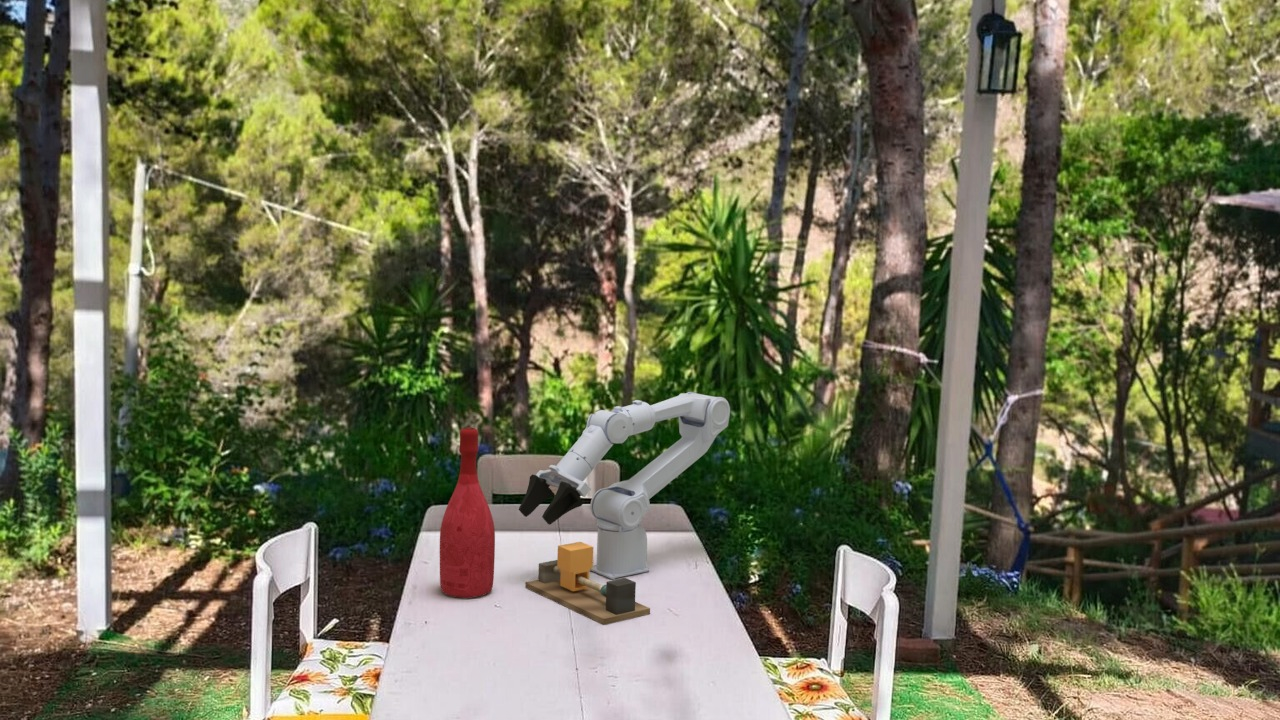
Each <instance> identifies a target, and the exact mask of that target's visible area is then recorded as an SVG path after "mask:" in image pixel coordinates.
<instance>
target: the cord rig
mask: <svg viewBox="0 0 1280 720" xmlns="http://www.w3.org/2000/svg"><path fill="white" fill-rule="evenodd" d="M557 561H558V559H554V560H550V561H543V562H539V563H538V578H537V579H536V580H535V579H534V580H531V581H530V580H529V581H525V588H526V589H527V590H530V591H531V592H534V593H535V594H538V595H540V596H542V597H545V598H547V600H550V601H553V602H554V603H557V604H559V605H561V606H563V607H566V608H568V610H572V611H574V612H576V613H578V614H580V615H582V616H584V617H586V618H588V619H591V620H592V621H595V622H597V623H599V624H601V625H603V626H605V625H608V624H610V625H611V624H613V623H618V622H621V621H626V620H627V621H628V620H630V619H634V618H640V617H642V616H647V615H650V614H651V607H648V606H646V605H643V604H642V603H639V602H637V601H636V587H637V585H636V584H637V583H636V581H633V580H631V579H629V578H626V577H621V578H616V579H611V580H609V581H606V582H605V583H606V584H604V585H602V584H600V583H597V582H595V581H593V580H590V579H589V580H588V579H586V578H584V577H581V576H579V575H577V574H575V581H576V582H578V583H580V584H583V585H585V586H587V587H589V588H587V589H582V590H577V591H571V590H569V589H567V588H565V587H562V586H560V578H561V569H560V568H558V567H557Z"/></svg>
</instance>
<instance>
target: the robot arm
mask: <svg viewBox="0 0 1280 720" xmlns="http://www.w3.org/2000/svg"><path fill="white" fill-rule="evenodd" d="M730 416H731V406H730V404H729V401H728V400H727V399H726V398H725V397H723V396H712V395H706V394H702V393H701V394H700V393H696V392H694V391H688V392H686V393H685V392H683V393H679V395H677V396H674V397H670V398H668V399H665V400H663V401H659V402H657V403H654V404H649V403H648V402H646V401H643V400H639V399H635V400H632V404H629V405H626V406H618V405H616V406H614V407H613V409H612V410H605V409H600V410H597V411H595V412H594V413H590V414H589V415H588V419H587V422H586V425H585V429H583V431H582V434H581V436H580V437H579V438H578V439H577V441H575V443H574V444H573V445H572V446H571V448H569V450H568V451H567V453H566V454H564V456H563V457H562V458H561V459H560V460H559V462H558V463H557V464H556V465H555V464H554V465H553V464H550V465H549V466H548V469H546V470H541V469H540V470H539V471H537V473H536V474H531V475H530V476H529V481H528V486H527V490H526V493H525V495H524V497H523V499H522V501H521V503H520V506H519V507H518V510H519V512H520V513H521V514H522V515H523V517H528V516H530V515H531V514H532V513H533V512H534V511H535V510H536V509H537V508H538V507H539V506H540V505H541V504H543V502H545V501H546V500H548V499H550V498H551V497H553V499H552V500H551V502H550V503H549V505H548V506H547V508H546V509H545V510H544V512H543V514H542V516H541V518H542V519H543V520H544V521H545V522H546V524H547V525H552V524H554V523H555V522H556V521H557V520H558V519H560V518H562V517H563V516H564V515H565V514H567V513H569V512H570V511H572V510H575V509H577V508H579V507H582V506H583V504H584V501H583V500H582V499H581V497H583V498H585V497H587V495H588V494H589V492H590V491H591V489H592V488H591V487H590V486H589V485H588V483H587V482H586V481H585V480H586V478H587V477H588V476H589V475H590V474H591V472H592V471H593V470H594V469H595V468H596V466H597V465H598V464H599V463H600V462H601V460H602V459H603V457H605V455H606V454H607V453H608V451H609V450H610V449H611V448H612V447H613V446H614V444H623V443H624V442H625V441H627V439H628V437H631V436H634V435H638V434H641V433H644V432H647V431H650V430H652V429H653V428H654V426H655V424H656V423H657V422H662V421H665V420H671V419H675V418H678V429H679V431H678V432H679V435H680V436H681V438H680V439H679V440H677V441H676V442H674V443H673V444H672V445H670V446H669V447H668V448H667V449H666V450H664V451H663V452H662V453H661V454H659V455H658V456H657V457H655V458H654V459H652V461H651V462H649V463H648V464H646V466H644V467H643V468H642V469H641V470H639V471H638V472H637V473H636V474H634V475H633V476H631V477H630V478H629V479H626V480H622V481H618V482H614V483H612V484H611V485H610V486H607V487H604V488H599V489H598V490H597V491H596V492H595V493H594V494H593V495H592V498H591V500H590V504H589V505H590V506H589V509H590V513H591V516H592V517H594V518H595V525H597V536H596V537H597V538H596V539H597V543H596V545H597V548H596V564H593V569H589V571H591V572H594V573H596V574H599V575H601V576H603V577H606V578H608V579H611V580H614V579H619V578H624V577H627V576H632V575H636V574H641V573H646V572H649V571H650V570H649V568H648V567H647V561H648V560H647V559H648V558H647V557H648V535H647V533H646V532H647V531H646V529H645V528H644V527H643V526H642V525H641V524H640V523H641V521H642V520H643V517H644V516H645V515H646V514H647V513H648V512H649V511H650V510H651V505H650V499H651V498H652V497H654V496H655V495H657V494H658V493H659V492H660V491H661V490H662V489H664V488H665V487H666V486H667V485H668V484H670V483H671V482H672V481H673V480H675V479H676V478H678V477H679V475H681V474H682V473H683V472H684V471H686V470H687V469H688V468H689V467H691V466H692V465H693V464H694V463H695V462H697V461H698V460H699V459H700V458H701V457H703V456H704V455H705V454H706V453H707V452H708V450H709V449H710V447H711V446H712V444H713V443H714V441H715V439H716V438H717V436H718V435H719V434H720V433H721V432H722V431H724V430H725V429H726V428H727V427H729V422H730ZM550 486H552V487H555V488H557V491H556V493H554V491H553V490H552V489H551V488H550Z"/></svg>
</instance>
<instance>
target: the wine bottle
mask: <svg viewBox="0 0 1280 720" xmlns="http://www.w3.org/2000/svg"><path fill="white" fill-rule="evenodd" d="M458 452H459V454H460V455H461V456H460V467H459V469H460V470H459V475H458V480H457V482H456V486H455V488H454V491H453V492H452V495H451V497H450V499H449V501H448V504H447V506H446V509H445V511H444V514H443V516H442V517H443V518H442V521H441V524H440V531H439V585H440V590H441V591H442V593H444V594H445V595H447V596H450V597H455V598H461V599H463V598H464V599H465V598H466V599H467V598H477V597H478V598H479V597H482V596H484V595H487V594H488V593H490V592H491V590H493V587H494V577H495V559H496V558H495V553H496V549H495V548H496V534H495V532H496V531H495V524H494V518H493V515H492V512H491V509H490V507H489V503H488V502H487V499H486V497H485V493H483V492H484V491H483V490H482V487H481V484H480V481H479V476H478V470H477V454H478V452H479V430H478V429H477V428H474V427H463V428H461V429H460V432H459V448H458Z"/></svg>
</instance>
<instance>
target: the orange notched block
mask: <svg viewBox="0 0 1280 720" xmlns="http://www.w3.org/2000/svg"><path fill="white" fill-rule="evenodd" d="M557 560H558V561H557V567H558V568H560V569H561V578H560V586H562V587H565V588H567V589H569V590H571V591H577V590H582V589H587V588H589V587H587V586H585V585H583V584H580V583H578V582H576V581H575V574H577V575H579V576H581V577H584V578H586V579H588V580H590V570H589V569H593V565H594V546H592V545H590V544H587V543H585V542H581V541H577V542H572V543H566V544H560V545H557Z"/></svg>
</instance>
